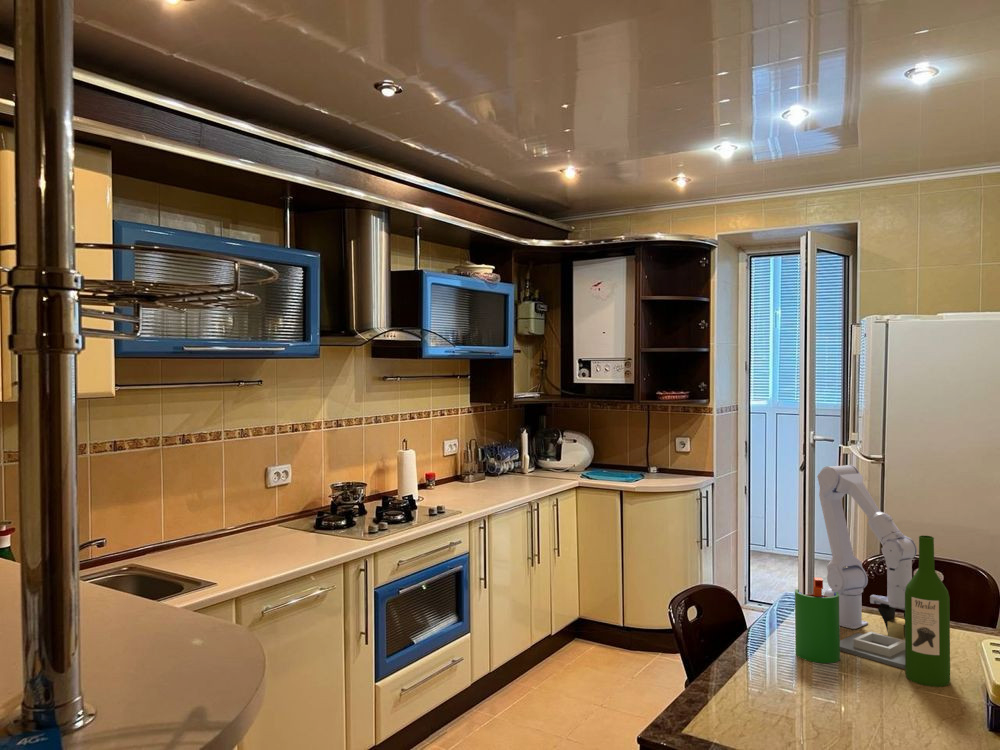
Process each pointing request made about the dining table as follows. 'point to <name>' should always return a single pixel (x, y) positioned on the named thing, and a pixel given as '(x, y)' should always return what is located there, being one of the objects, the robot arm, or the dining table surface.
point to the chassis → (876, 648)
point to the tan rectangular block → (896, 628)
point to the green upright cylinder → (817, 625)
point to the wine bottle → (927, 622)
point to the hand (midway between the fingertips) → (899, 636)
